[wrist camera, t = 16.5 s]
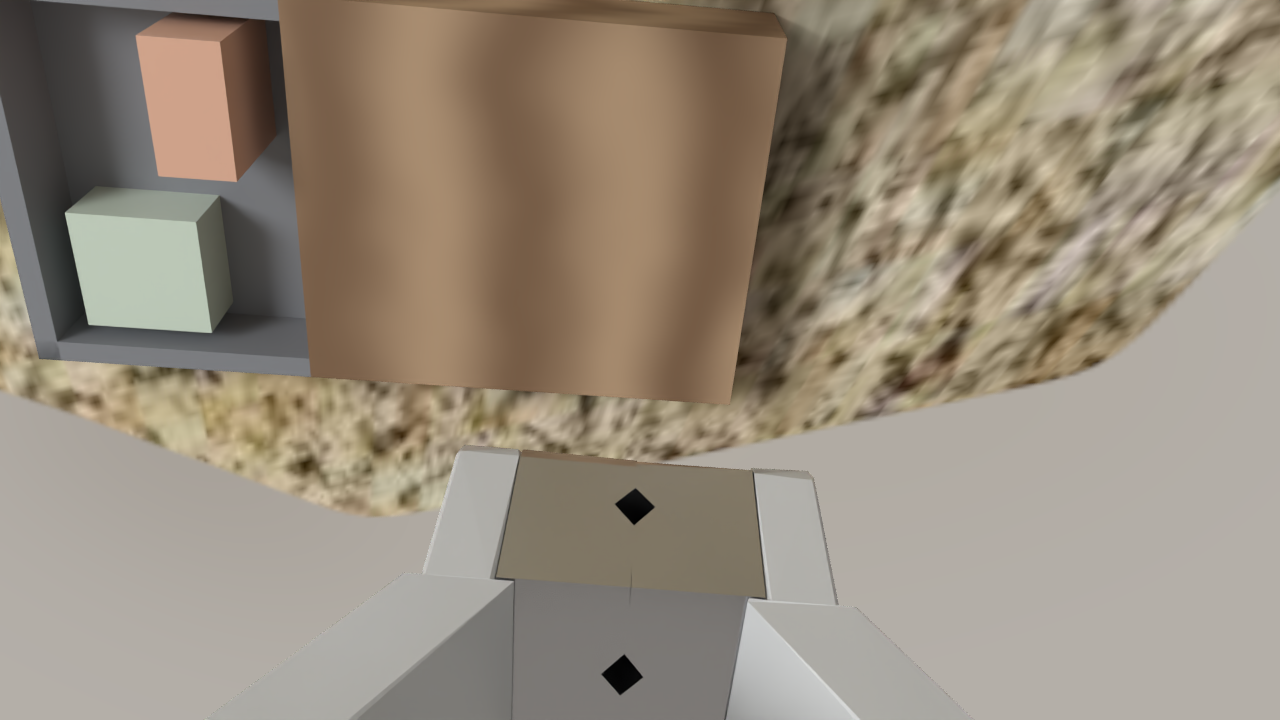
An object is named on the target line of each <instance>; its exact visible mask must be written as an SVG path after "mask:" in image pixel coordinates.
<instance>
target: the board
mask: <svg viewBox="0 0 1280 720" xmlns="http://www.w3.org/2000/svg"><path fill="white" fill-rule="evenodd" d="M278 11H279V22H280V33H281V45H282V56H283V67H284V79H285V90H286V101H287V113H288V124H289V135H290V146H291V158H292V169H293V180H294V192H295V203H296V214H297V226H298V237H299V248H300V260H301V271H302V282H303V294H304V305H305V316H306V328H307V339H308V350H309V362H310V373H311V377H321V378H336V379H351V380H366V381H381V382H396V383H412V384H427V385H442V386H457V387H472V388H487V389H502V390H517V391H532V392H547V393H562V394H577V395H592V396H607V397H623V398H638V399H653V400H668V401H683V402H698V403H713V404H728V405H730V400H731V394H732V387H733V381H734V375H735V368H736V362H737V356H738V349H739V343H740V336H741V330H742V324H743V317H744V311H745V305H746V298H747V292H748V286H749V279H750V273H751V266H752V260H753V254H754V247H755V241H756V235H757V228H758V222H759V216H760V209H761V203H762V196H763V190H764V184H765V177H766V171H767V165H768V158H769V152H770V146H771V139H772V133H773V126H774V120H775V114H776V107H777V101H778V95H779V88H780V82H781V76H782V69H783V63H784V56H785V50H786V44H787V37H786V35H785V33H784V31H783V30H782V28H781V26H780V24H779V22H778V20H777V18H776V16H775V14H774V13H766V12H754V11H743V10H731V9H720V8H708V7H697V6H686V5H674V4H663V3H651V2H640V1H628V0H278Z"/></svg>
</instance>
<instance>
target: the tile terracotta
mask: <svg viewBox="0 0 1280 720" xmlns="http://www.w3.org/2000/svg"><path fill="white" fill-rule="evenodd" d="M135 36H136V42H137V48H138V54H139V60H140V66H141V72H142V79H143V85H144V91H145V97H146V103H147V109H148V115H149V122H150V128H151V134H152V140H153V146H154V152H155V158H156V164H157V171H158V176H161V177H175V178H189V179H203V180H217V181H231V182H237V181H238V180H239V179H240V178H241V177H242V176H243V174H244V173H245V172H246V171H247V170H248V169H249V167H250V166H251V165H252V164H253V163H254V162H255V160H256V159H257V158H258V157H259V156H260V155H261V154H262V152H263V151H264V150H265V149H266V148H267V147H268V145H269V144H270V143H271V142H272V141H273V140H274V138H275V137H276V136H277V135H276V125H275V115H274V105H273V95H272V85H271V75H270V65H269V55H268V45H267V35H266V25H265V20H261V19H249V18H238V17H226V16H214V15H202V14H190V13H179V12H172V13H171V14H169V15H167V16H166V17H164V18H163V19H161V20H159V21H158V22H156V23H154V24H153V25H151V26H150V27H148V28H146V29H145V30H143V31H142V32H140V33H138V34H137V35H135Z"/></svg>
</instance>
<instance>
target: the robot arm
mask: <svg viewBox="0 0 1280 720" xmlns="http://www.w3.org/2000/svg"><path fill="white" fill-rule="evenodd" d="M204 720H974V719H973V718H972V717H971V716H970V715H969V714H968V713H967V712H966V711H965V710H964V709H962V708H961V707H960V706H959V705H958V704H957V703H956V702H955V701H954V700H953V699H952V698H951V697H950V696H949V695H948V694H947V693H946V692H945V691H944V690H943V689H941V688H940V687H939V686H938V685H937V684H936V683H935V682H934V681H933V680H932V679H931V678H930V677H929V676H928V675H927V674H926V673H925V672H924V671H923V670H921V669H920V667H918V666H917V665H916V664H915V663H914V662H913V661H912V660H911V659H910V658H909V657H908V656H907V655H906V654H905V653H904V652H903V651H902V650H901V649H900V648H899V647H897V645H896V644H894V643H893V642H892V641H891V640H890V639H889V638H888V637H887V636H886V635H885V634H884V633H883V632H882V631H881V630H880V629H879V628H878V627H877V626H876V625H875V624H873V623H872V622H871V621H870V620H869V619H868V618H867V617H866V616H865V615H864V614H863V613H862V612H861V611H860V610H859V609H858V608H856V607H848V606H839V605H838V600H837V594H836V589H835V584H834V579H833V574H832V569H831V564H830V559H829V554H828V548H827V543H826V538H825V533H824V528H823V523H822V517H821V512H820V507H819V502H818V497H817V492H816V487H815V482H814V478H813V477H812V475H811V474H810V473H809V472H808V471H795V470H775V469H757V468H756V469H755V468H751V470H739V469H727V468H713V467H699V466H685V465H673V464H660V463H646V462H637V461H633V460H623V459H613V458H603V457H593V456H583V455H573V454H563V453H553V452H543V451H533V450H523V451H522V452H521V451H520V450H518V449H509V448H497V447H485V446H473V445H464V446H463V447H462V448H461V449H460V451H459V452H458V453H457V455H456V458H455V462H454V465H453V468H452V472H451V475H450V479H449V482H448V486H447V489H446V492H445V496H444V499H443V503H442V506H441V510H440V513H439V517H438V520H437V523H436V527H435V530H434V534H433V537H432V540H431V544H430V547H429V551H428V554H427V557H426V561H425V564H424V568H423V571H422V574H414V573H403V574H402V575H400V576H399V577H397V578H396V579H395V580H393V581H392V582H391V583H389V584H388V585H387V586H385V587H384V588H382V589H381V590H380V591H379V592H377V593H376V594H374V595H373V596H372V597H370V598H369V599H368V600H366V601H365V602H363V603H362V604H361V605H359V606H358V607H357V608H355V609H354V610H353V611H351V612H350V613H348V614H347V615H346V616H344V617H343V618H342V619H340V620H339V621H338V622H336V623H335V624H334V625H332V626H331V627H329V628H328V629H327V630H325V631H324V632H323V633H321V634H320V635H319V636H317V637H316V638H314V639H313V640H312V641H310V642H309V643H308V644H306V645H305V646H304V647H302V648H301V649H300V650H298V651H297V652H295V653H294V654H293V655H291V656H290V657H289V658H287V659H286V660H285V661H283V662H282V663H281V664H279V665H278V666H277V667H275V668H274V669H272V670H271V671H270V672H268V673H267V674H266V675H264V676H263V677H261V678H260V679H259V680H257V681H256V682H255V683H254V684H252V685H251V686H249V687H248V688H247V689H245V690H244V691H242V692H241V693H240V694H238V695H237V696H236V697H234V698H233V699H232V700H230V701H229V702H228V703H226V704H225V705H224V706H222V707H221V708H219V709H218V710H217V711H215V712H214V713H213V714H211V715H210V716H209V717H207V718H206V719H204Z"/></svg>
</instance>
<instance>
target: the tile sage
mask: <svg viewBox="0 0 1280 720" xmlns="http://www.w3.org/2000/svg"><path fill="white" fill-rule="evenodd" d="M65 216H66V221H67V225H68V230H69V235H70V240H71V244H72V249H73V254H74V258H75V263H76V268H77V272H78V277H79V282H80V286H81V291H82V296H83V301H84V305H85V310H86V315H87V319H88V324H89V325H99V326H114V327H129V328H144V329H159V330H174V331H189V332H204V333H212V332H213V331H214V329H215V328H216V326H217V325H218V323H219V322H220V321H221V319H222V318H223V316H224V315H225V313H226V312H227V310H228V309H229V307H230V306H231V305H232V303H233V295H232V288H231V280H230V272H229V264H228V257H227V249H226V241H225V234H224V226H223V218H222V211H221V203H220V195H210V194H196V193H183V192H169V191H156V190H142V189H128V188H115V187H101V186H95V187H94V188H93V189H92V190H91V191H90V192H88V193H87V194H86V195H85V196H84V197H83V198H81V199H80V200H79V201H78V202H77V203H76V204H74V205H73V206H72V207H71V208H70V209H69V210H67V211H66V212H65Z"/></svg>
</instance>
